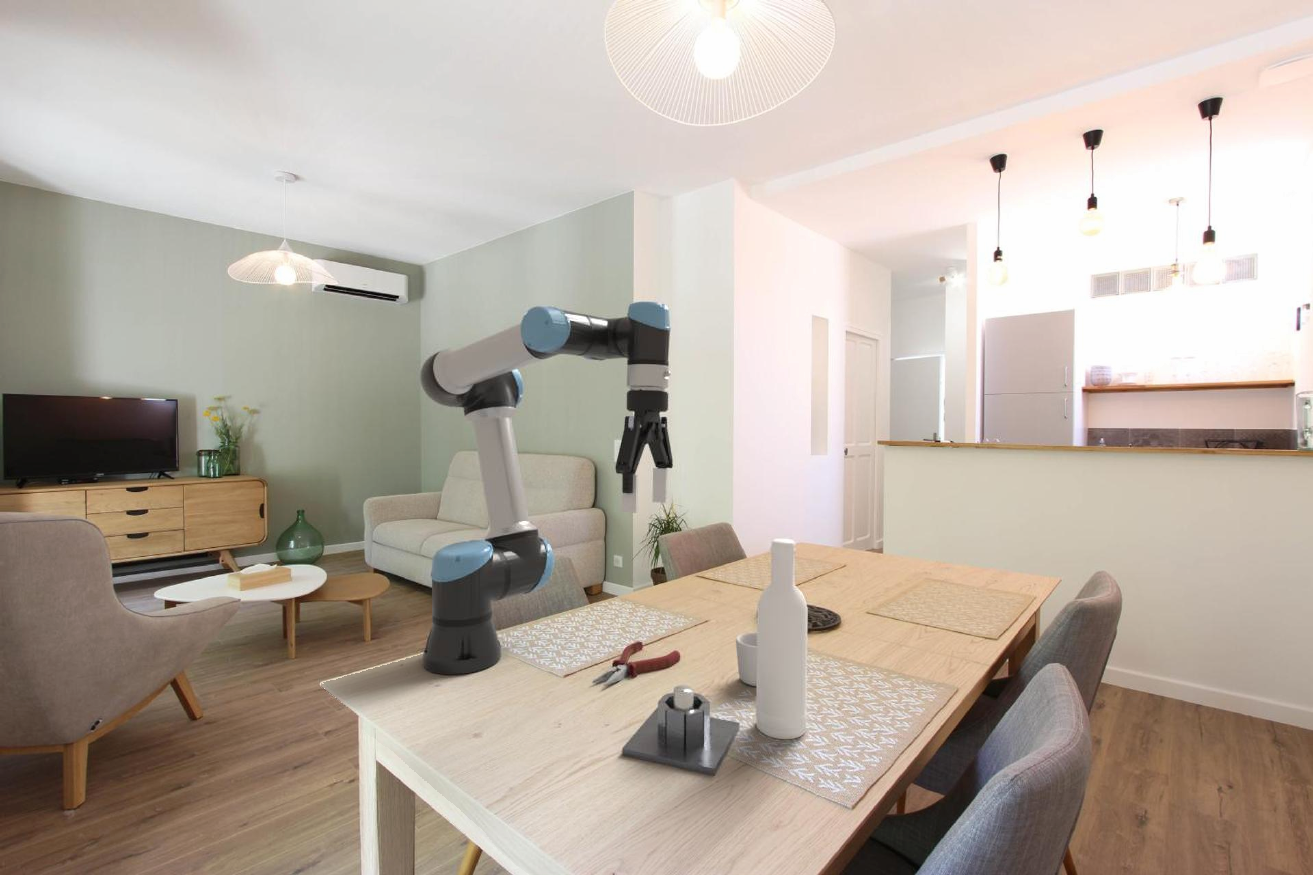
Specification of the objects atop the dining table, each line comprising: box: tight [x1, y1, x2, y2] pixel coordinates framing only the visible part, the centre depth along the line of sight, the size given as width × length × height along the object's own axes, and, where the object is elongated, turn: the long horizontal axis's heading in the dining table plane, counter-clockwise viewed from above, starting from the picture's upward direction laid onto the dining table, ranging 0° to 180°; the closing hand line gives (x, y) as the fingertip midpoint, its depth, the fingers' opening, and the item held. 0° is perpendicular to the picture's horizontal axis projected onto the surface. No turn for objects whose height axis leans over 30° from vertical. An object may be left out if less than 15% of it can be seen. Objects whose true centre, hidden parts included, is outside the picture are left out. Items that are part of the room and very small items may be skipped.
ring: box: [657, 692, 711, 748], centre depth 94 cm, size 7×7×5 cm
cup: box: [735, 632, 757, 687], centre depth 115 cm, size 11×8×8 cm
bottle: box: [755, 538, 809, 740], centre depth 98 cm, size 8×8×30 cm
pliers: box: [592, 640, 681, 687], centre depth 121 cm, size 12×20×3 cm, turn 146°
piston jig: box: [621, 684, 741, 777], centre depth 94 cm, size 14×14×8 cm
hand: (645, 507), depth 112 cm, fingers open, 13 cm apart
